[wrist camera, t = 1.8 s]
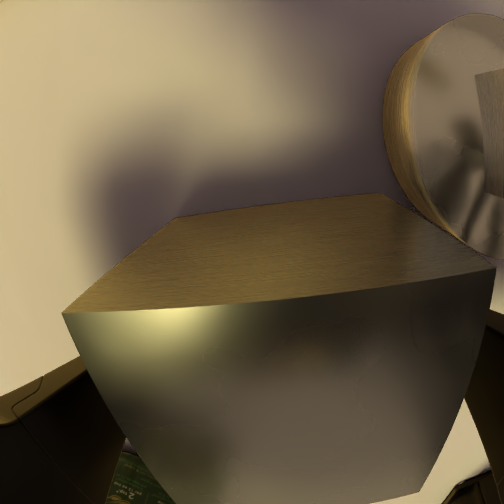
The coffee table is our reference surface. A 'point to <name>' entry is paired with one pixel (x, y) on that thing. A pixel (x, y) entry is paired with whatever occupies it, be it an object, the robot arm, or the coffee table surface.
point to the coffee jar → (135, 484)
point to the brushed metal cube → (288, 350)
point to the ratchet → (452, 129)
